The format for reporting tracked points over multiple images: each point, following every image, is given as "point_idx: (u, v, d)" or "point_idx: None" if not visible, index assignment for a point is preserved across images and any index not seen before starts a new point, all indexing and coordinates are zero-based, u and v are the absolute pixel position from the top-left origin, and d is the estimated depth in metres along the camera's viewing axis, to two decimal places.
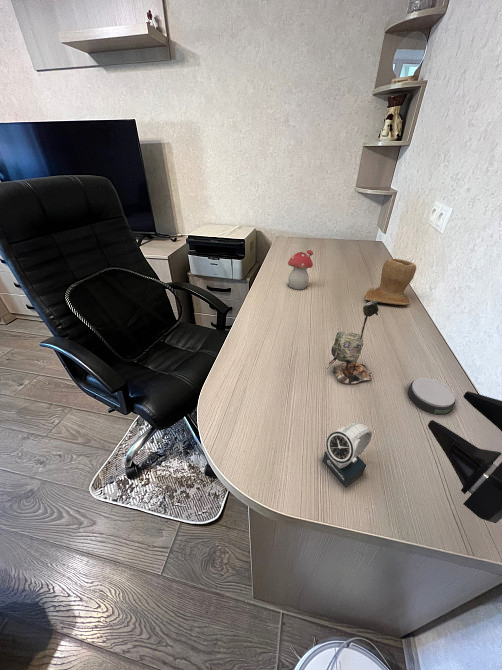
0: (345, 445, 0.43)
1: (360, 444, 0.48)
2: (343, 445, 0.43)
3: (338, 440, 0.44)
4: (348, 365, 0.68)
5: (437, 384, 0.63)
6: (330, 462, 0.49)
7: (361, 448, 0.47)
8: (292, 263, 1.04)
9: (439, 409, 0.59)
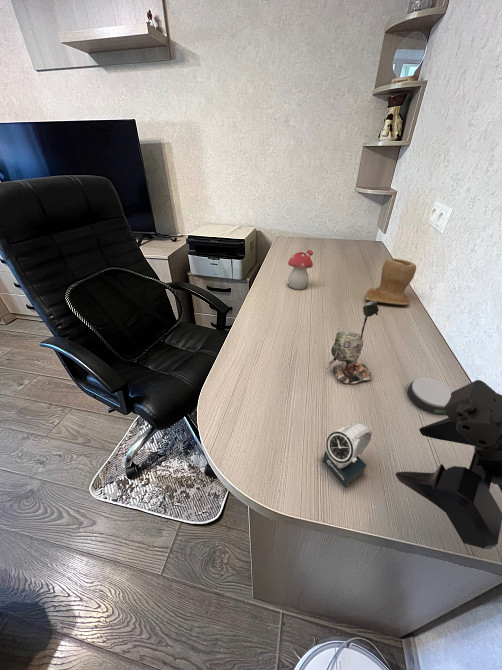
0: (345, 445, 0.43)
1: (360, 444, 0.48)
2: (343, 445, 0.43)
3: (338, 440, 0.44)
4: (348, 365, 0.68)
5: (437, 384, 0.63)
6: (330, 462, 0.49)
7: (361, 448, 0.47)
8: (292, 263, 1.04)
9: (439, 409, 0.59)
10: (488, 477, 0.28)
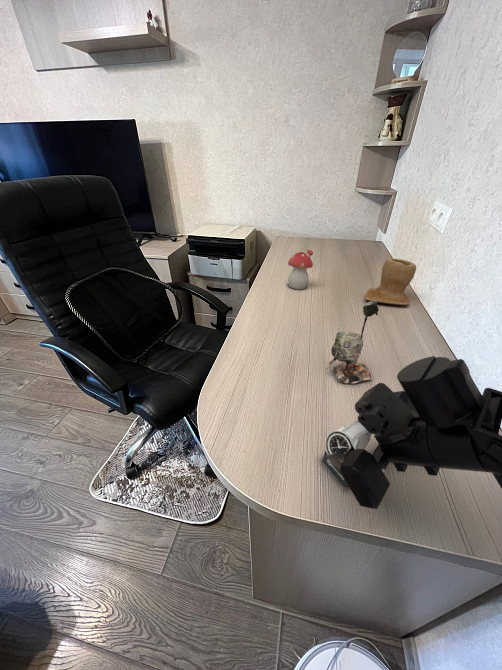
0: (345, 445, 0.43)
1: (360, 444, 0.48)
2: (343, 445, 0.43)
3: (338, 440, 0.44)
4: (348, 365, 0.68)
5: None
6: (330, 462, 0.49)
7: (361, 448, 0.47)
8: (292, 263, 1.04)
9: None
10: (384, 457, 0.37)
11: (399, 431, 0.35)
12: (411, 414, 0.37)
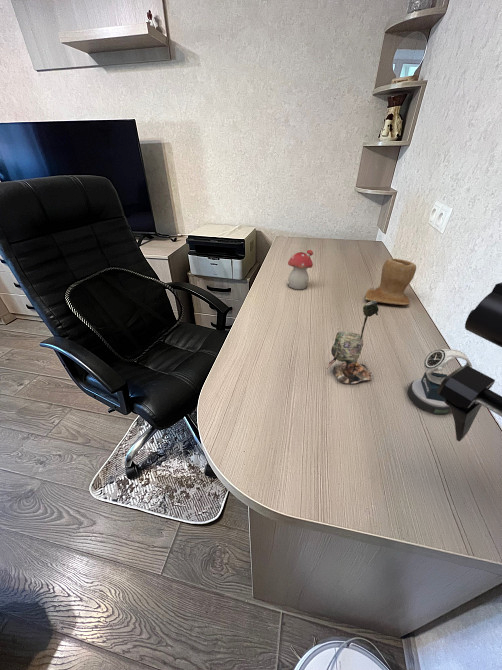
0: (439, 358, 0.56)
1: None
2: (438, 357, 0.56)
3: (436, 355, 0.58)
4: (348, 365, 0.68)
5: None
6: (425, 379, 0.62)
7: None
8: (292, 263, 1.04)
9: (439, 409, 0.59)
10: None
11: None
12: None
